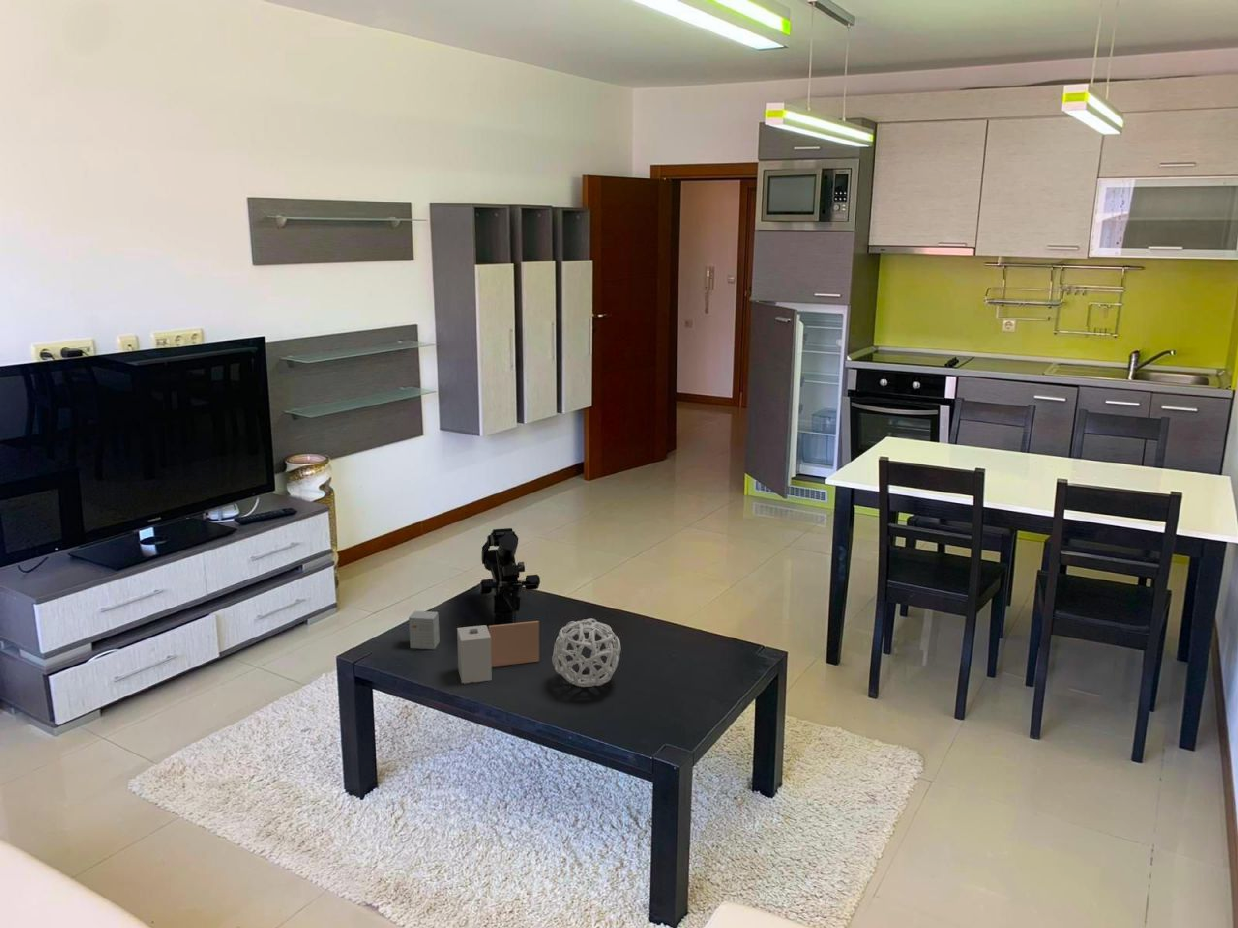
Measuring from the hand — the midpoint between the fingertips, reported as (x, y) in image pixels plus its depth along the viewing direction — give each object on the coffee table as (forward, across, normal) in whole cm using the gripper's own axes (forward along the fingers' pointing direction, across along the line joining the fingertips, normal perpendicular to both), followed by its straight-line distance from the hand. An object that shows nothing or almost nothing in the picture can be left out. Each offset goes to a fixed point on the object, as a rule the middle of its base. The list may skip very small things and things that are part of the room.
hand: (513, 609), depth 289 cm
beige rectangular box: (+20, -15, -3) cm, 25 cm away
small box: (+4, -27, +14) cm, 31 cm away
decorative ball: (+30, +16, -13) cm, 37 cm away
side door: (+18, -2, 0) cm, 18 cm away
